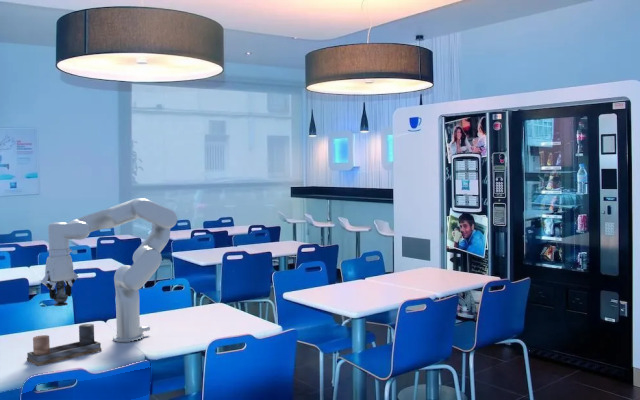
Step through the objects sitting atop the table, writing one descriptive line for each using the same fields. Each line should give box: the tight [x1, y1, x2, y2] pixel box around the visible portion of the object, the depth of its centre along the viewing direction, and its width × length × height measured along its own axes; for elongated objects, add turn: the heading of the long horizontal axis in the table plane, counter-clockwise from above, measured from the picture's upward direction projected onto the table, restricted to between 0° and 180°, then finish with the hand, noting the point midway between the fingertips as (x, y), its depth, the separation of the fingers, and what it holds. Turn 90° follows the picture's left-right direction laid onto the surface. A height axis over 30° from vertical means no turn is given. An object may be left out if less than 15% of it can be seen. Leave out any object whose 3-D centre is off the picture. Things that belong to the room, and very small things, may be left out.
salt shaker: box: [53, 281, 69, 307], centre depth 245 cm, size 6×6×12 cm
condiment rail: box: [26, 323, 102, 367], centre depth 236 cm, size 25×10×10 cm, turn 138°
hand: (60, 297), depth 245 cm, fingers closed on salt shaker, 5 cm apart
